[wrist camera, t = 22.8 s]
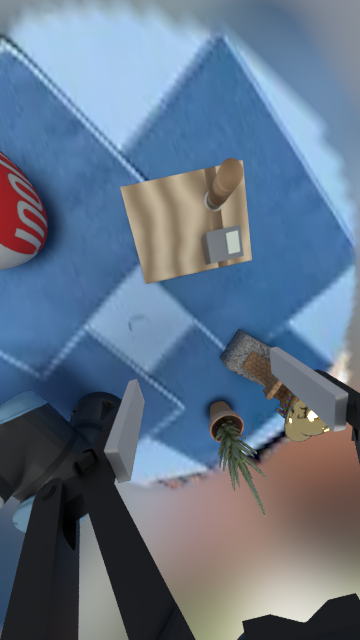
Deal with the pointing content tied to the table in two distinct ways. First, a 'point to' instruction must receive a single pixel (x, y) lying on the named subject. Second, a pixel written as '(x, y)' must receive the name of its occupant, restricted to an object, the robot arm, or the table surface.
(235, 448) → the potted plant
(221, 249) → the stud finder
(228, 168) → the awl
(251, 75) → the table surface
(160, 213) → the board
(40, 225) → the decorative sphere
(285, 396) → the figurine
